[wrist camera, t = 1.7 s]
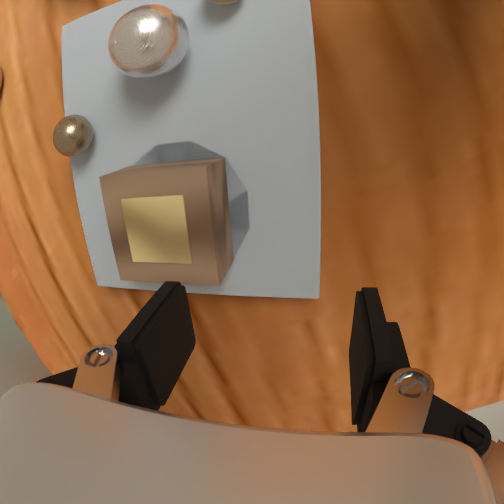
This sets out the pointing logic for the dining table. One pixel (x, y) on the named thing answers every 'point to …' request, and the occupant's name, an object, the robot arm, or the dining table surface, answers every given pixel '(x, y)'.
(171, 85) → the hole board
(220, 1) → the ball
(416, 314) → the dining table surface
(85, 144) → the bronze ball
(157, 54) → the steel boule
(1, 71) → the plastic bottle
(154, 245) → the walnut cover
